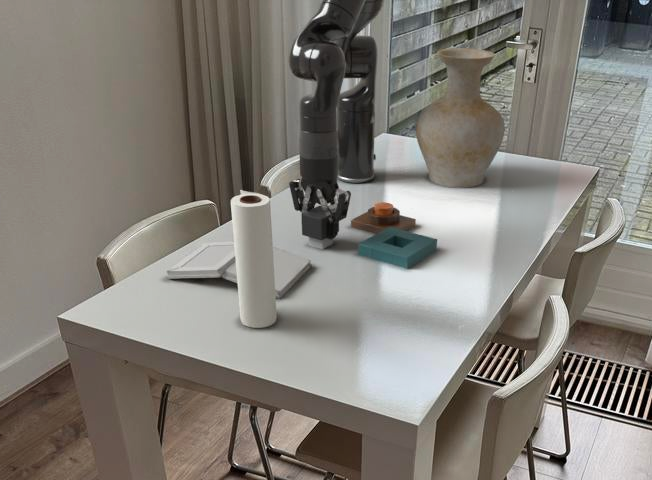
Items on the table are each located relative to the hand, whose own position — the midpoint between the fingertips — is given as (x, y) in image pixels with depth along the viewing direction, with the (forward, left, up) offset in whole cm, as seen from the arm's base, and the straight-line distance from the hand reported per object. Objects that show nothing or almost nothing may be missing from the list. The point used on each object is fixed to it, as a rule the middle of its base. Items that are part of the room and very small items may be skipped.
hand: (320, 234), depth 158 cm
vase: (+2, +55, -2) cm, 55 cm away
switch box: (+5, +16, -2) cm, 17 cm away
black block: (0, 0, -2) cm, 2 cm away
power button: (+5, +16, +1) cm, 17 cm away
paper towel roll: (+11, -32, -2) cm, 34 cm away
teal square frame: (+15, +6, -2) cm, 16 cm away
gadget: (-4, -20, -2) cm, 21 cm away
